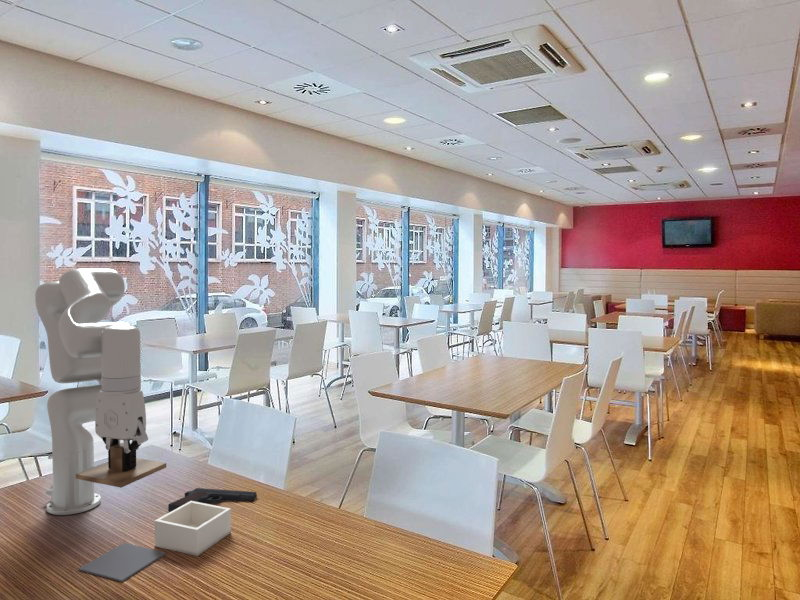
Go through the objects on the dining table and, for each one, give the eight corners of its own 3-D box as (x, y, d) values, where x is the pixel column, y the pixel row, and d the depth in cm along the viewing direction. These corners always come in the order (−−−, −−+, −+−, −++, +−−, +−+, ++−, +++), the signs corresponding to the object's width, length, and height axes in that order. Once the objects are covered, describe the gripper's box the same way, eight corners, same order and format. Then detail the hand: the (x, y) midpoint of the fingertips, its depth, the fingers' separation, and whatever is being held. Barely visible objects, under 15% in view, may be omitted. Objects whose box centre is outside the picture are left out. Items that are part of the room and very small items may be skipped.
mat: (78, 570, 119) (78, 568, 119) (124, 544, 130) (124, 542, 130) (122, 582, 115) (122, 580, 115) (165, 554, 126) (165, 552, 126)
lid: (75, 478, 118) (75, 450, 118) (123, 459, 130) (123, 434, 129) (121, 487, 114) (120, 458, 113) (166, 467, 125) (166, 440, 125)
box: (154, 546, 130) (154, 520, 130) (191, 524, 141) (190, 500, 141) (197, 556, 126) (196, 529, 125) (230, 532, 137) (230, 508, 137)
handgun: (241, 510, 146) (257, 490, 158) (166, 505, 148) (187, 486, 160) (241, 518, 147) (257, 498, 159) (166, 513, 148) (187, 494, 160)
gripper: (77, 383, 120) (78, 468, 121) (137, 390, 114) (138, 479, 115) (106, 377, 127) (108, 457, 128) (164, 383, 121) (165, 467, 122)
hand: (122, 467), depth 122 cm, fingers closed on lid, 3 cm apart
